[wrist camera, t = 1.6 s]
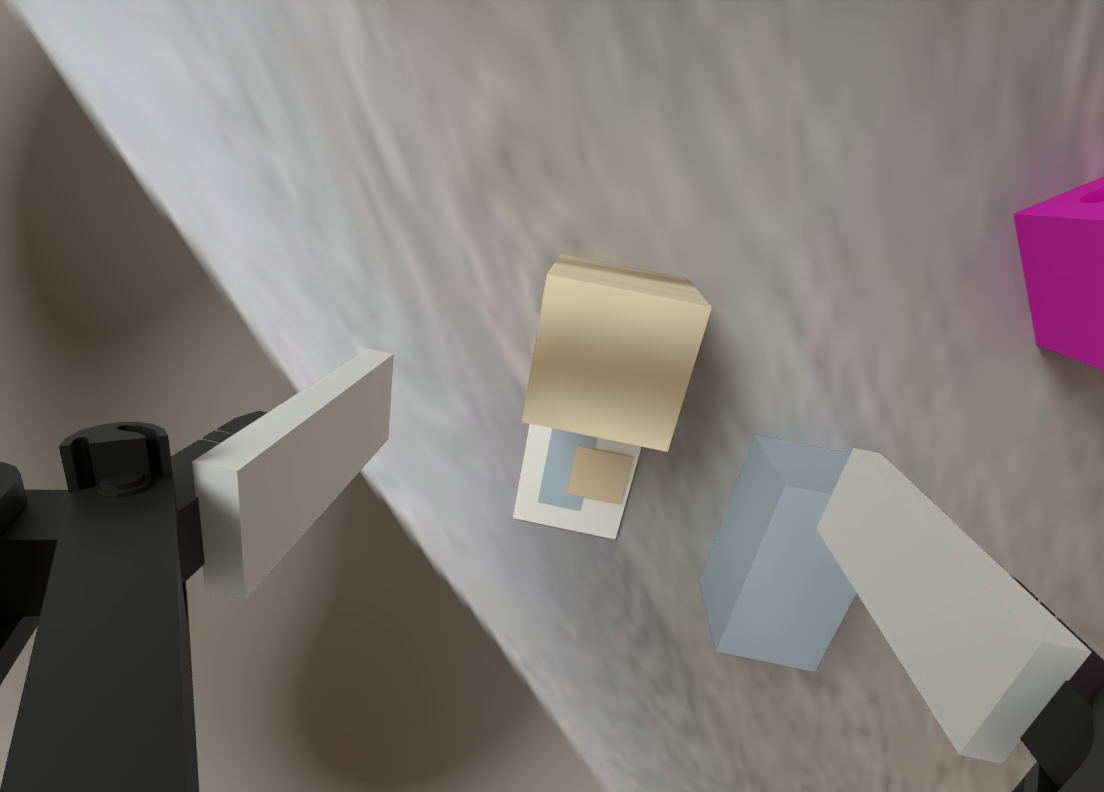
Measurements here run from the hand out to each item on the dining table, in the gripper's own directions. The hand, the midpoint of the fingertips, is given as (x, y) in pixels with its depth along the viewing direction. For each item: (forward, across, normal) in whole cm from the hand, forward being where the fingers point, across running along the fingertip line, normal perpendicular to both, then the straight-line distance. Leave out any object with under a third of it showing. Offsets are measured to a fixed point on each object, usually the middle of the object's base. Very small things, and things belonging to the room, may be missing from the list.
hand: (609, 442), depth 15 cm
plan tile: (+11, 0, -7) cm, 14 cm away
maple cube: (+11, 0, +1) cm, 11 cm away
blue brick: (+12, +11, -8) cm, 18 cm away
